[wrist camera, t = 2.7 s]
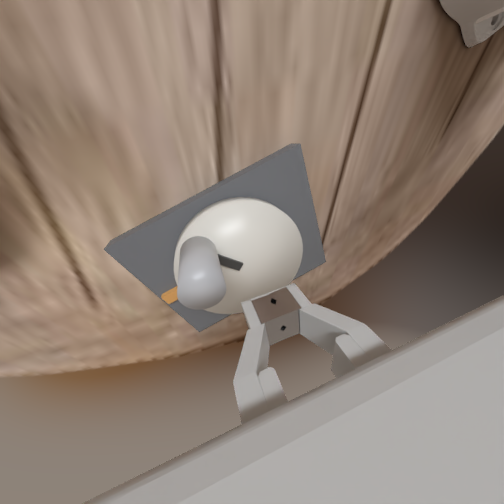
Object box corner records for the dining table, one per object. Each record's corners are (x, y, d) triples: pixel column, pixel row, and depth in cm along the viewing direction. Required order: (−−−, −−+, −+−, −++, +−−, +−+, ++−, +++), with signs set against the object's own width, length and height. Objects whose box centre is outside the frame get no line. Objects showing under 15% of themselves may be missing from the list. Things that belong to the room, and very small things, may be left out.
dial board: (290, 143, 20) (303, 143, 18) (318, 255, 30) (328, 263, 27) (110, 240, 19) (101, 252, 17) (198, 321, 29) (199, 335, 27)
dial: (315, 229, 24) (364, 262, 17) (257, 310, 28) (279, 361, 22) (209, 167, 17) (224, 184, 10) (155, 290, 21) (140, 355, 15)
